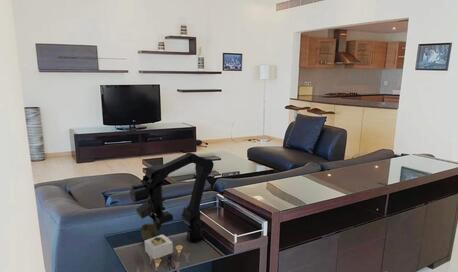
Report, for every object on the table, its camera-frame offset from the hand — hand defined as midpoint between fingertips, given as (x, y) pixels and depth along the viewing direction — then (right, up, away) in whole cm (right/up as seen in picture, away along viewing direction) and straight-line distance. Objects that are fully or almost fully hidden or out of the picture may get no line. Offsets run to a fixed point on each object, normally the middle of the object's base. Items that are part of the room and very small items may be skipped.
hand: (157, 230), depth 145 cm
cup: (-6, -9, +10) cm, 15 cm away
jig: (0, -10, +2) cm, 10 cm away
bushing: (0, -10, +2) cm, 10 cm away
